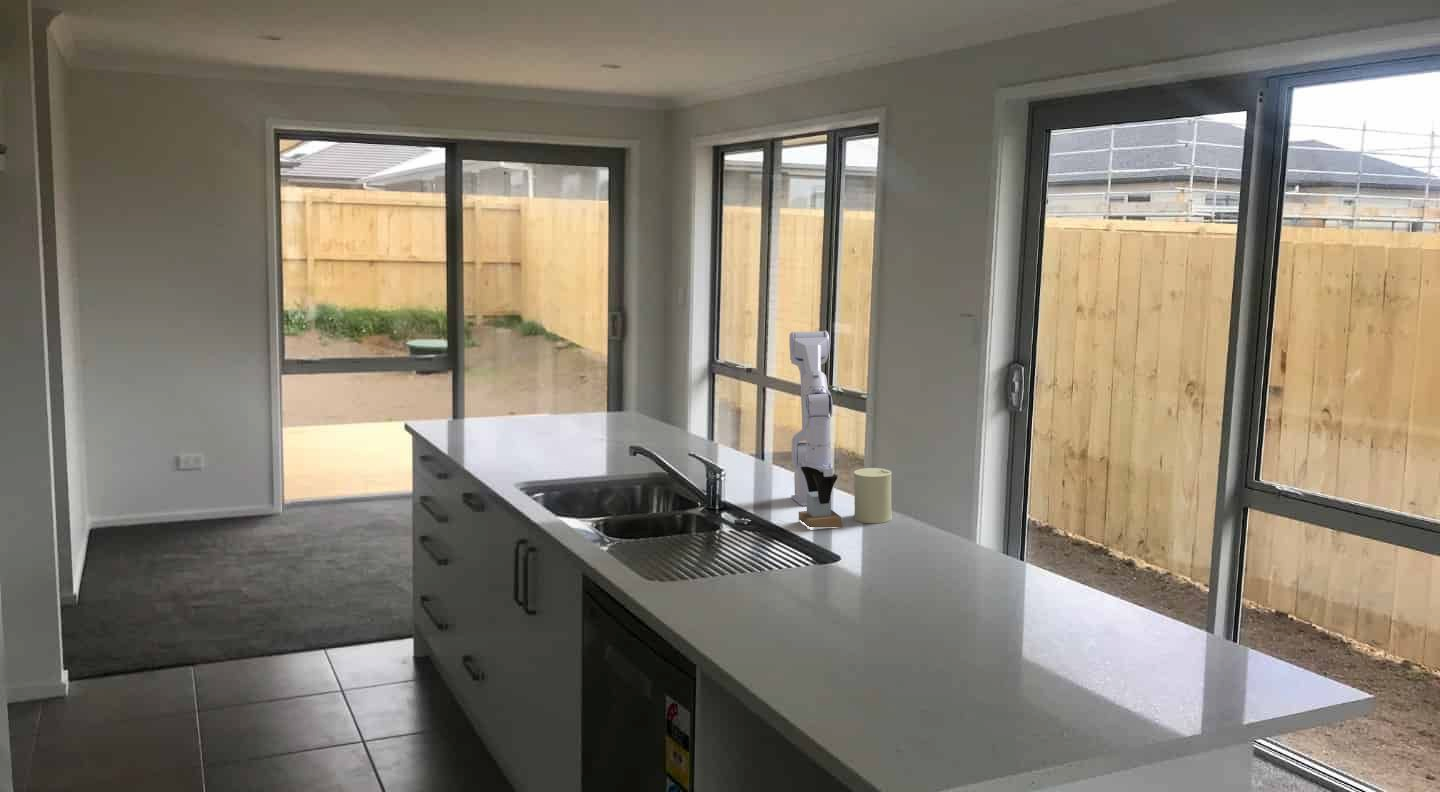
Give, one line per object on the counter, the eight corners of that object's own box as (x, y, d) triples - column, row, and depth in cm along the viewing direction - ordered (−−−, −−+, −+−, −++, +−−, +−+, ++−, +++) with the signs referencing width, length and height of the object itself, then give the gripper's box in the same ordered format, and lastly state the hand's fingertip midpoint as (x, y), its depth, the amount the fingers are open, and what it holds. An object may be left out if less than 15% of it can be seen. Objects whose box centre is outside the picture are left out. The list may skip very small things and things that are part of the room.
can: (894, 523, 272) (894, 474, 270) (855, 523, 272) (855, 475, 270) (889, 512, 281) (889, 465, 279) (852, 513, 282) (851, 466, 280)
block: (806, 512, 274) (806, 492, 273) (824, 510, 275) (824, 490, 274) (813, 517, 270) (812, 496, 269) (831, 515, 271) (830, 495, 270)
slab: (798, 523, 276) (798, 511, 275) (830, 520, 278) (829, 508, 277) (809, 532, 268) (809, 520, 268) (841, 529, 270) (841, 517, 269)
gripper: (793, 439, 275) (794, 493, 278) (812, 451, 262) (812, 508, 264) (820, 436, 277) (821, 490, 279) (841, 448, 263) (841, 505, 266)
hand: (819, 499), depth 272 cm, fingers open, 7 cm apart
